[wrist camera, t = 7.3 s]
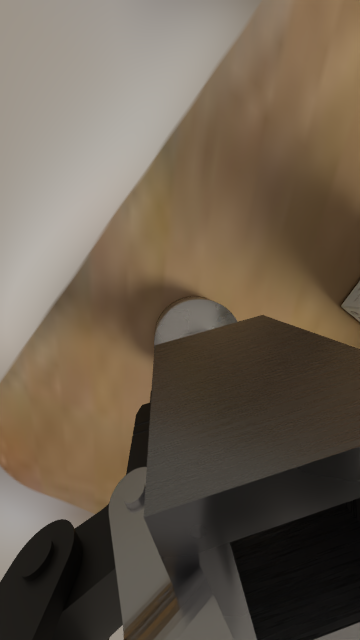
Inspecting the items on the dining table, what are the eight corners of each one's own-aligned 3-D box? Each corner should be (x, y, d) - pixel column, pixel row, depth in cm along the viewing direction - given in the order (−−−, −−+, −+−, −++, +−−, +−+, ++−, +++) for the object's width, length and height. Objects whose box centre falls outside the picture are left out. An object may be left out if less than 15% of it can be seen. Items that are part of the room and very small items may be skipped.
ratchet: (145, 308, 16) (137, 325, 10) (222, 287, 16) (256, 292, 11) (201, 494, 21) (218, 574, 16) (259, 475, 22) (295, 547, 16)
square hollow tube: (276, 407, 10) (460, 609, 4) (182, 435, 10) (222, 701, 4) (262, 315, 9) (502, 400, 3) (154, 345, 9) (143, 517, 2)
